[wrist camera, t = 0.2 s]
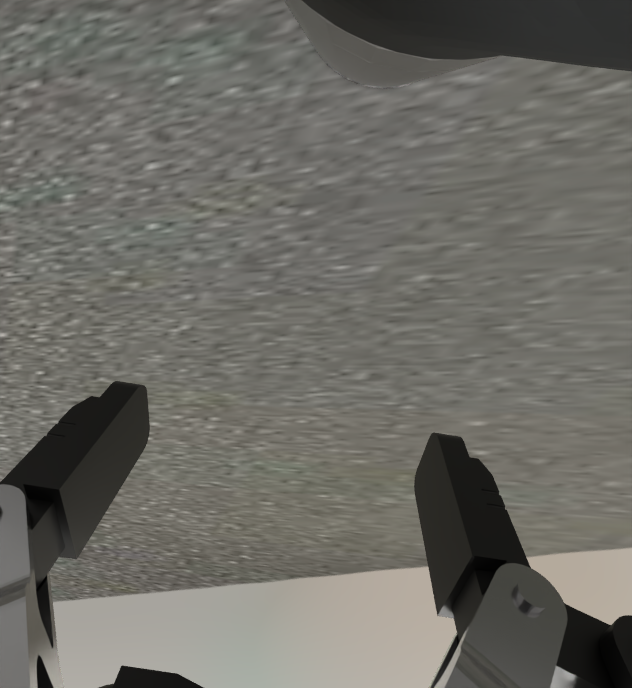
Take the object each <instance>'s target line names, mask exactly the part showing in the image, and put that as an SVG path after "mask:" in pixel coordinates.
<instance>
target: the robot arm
mask: <svg viewBox="0 0 632 688" xmlns="http://www.w3.org/2000/svg"><path fill="white" fill-rule="evenodd" d="M284 1H285V3H286V4H287V6H288V7H289V9H290V11H291V12H292V14H293V15H294V17H295V18H296V20H297V22H298V23H299V25H300V26H301V28H302V29H303V31H304V33H305V34H306V36H307V37H308V39H309V40H310V42H311V43H312V45H313V46H314V48H315V49H316V51H317V53H318V54H319V56H320V57H321V58H322V59H323V60H324V61H325V62H326V63H327V65H328V66H329V67H330V68H331V69H333V70H334V71H335V72H336V73H338V74H339V75H341V76H342V77H344V78H346V79H347V80H349V81H352V82H354V83H356V84H359V85H363V86H366V87H372V88H396V87H401V86H405V85H409V84H412V83H413V82H417V81H420V80H423V79H427V78H430V77H434V76H437V75H440V74H444V73H447V72H450V71H454V70H457V69H460V68H464V67H467V66H471V65H474V64H477V63H481V62H484V61H487V60H491V59H494V58H497V57H500V56H511V57H520V58H528V59H536V60H544V61H551V62H559V63H567V64H574V65H582V66H590V67H598V68H607V69H616V70H625V71H632V0H284ZM149 430H150V425H149V412H148V399H147V390H146V387H145V386H144V385H139V384H132V383H126V382H120V381H115V382H113V383H112V384H111V385H110V386H109V387H108V388H107V390H106V391H105V392H104V393H103V394H102V395H101V396H100V398H99V397H93V396H91V397H89V398H87V399H86V400H84V401H82V402H80V403H79V404H77V405H75V406H73V407H72V408H71V409H70V410H69V411H68V412H67V413H66V414H65V415H64V416H63V417H62V418H61V419H60V420H59V423H58V424H56V425H55V426H54V427H53V428H52V429H51V430H50V431H49V432H48V433H47V436H44V437H43V438H42V439H41V440H40V441H39V442H38V443H37V445H36V446H35V447H34V448H33V449H32V450H31V451H30V452H29V453H28V454H27V455H26V456H25V457H24V458H23V459H22V460H21V461H20V462H19V463H18V464H17V466H16V467H15V468H14V469H13V470H12V471H11V472H10V473H9V474H8V475H7V476H6V477H5V478H4V479H3V480H2V481H1V482H0V688H64V684H63V678H62V673H61V669H60V664H59V658H58V650H57V640H56V631H55V621H54V611H53V601H52V591H51V582H50V575H49V571H50V569H51V568H52V566H53V565H54V563H55V562H56V560H57V559H58V557H66V558H72V559H77V558H78V556H79V555H80V553H81V552H82V550H83V548H84V547H85V545H86V543H87V542H88V540H89V538H90V537H91V535H92V534H93V532H94V530H95V529H96V527H97V525H98V524H99V522H100V520H101V519H102V517H103V516H104V514H105V512H106V511H107V509H108V507H109V506H110V504H111V502H112V501H113V499H114V498H115V496H116V494H117V493H118V491H119V489H120V488H121V486H122V485H123V483H124V481H125V480H126V478H127V476H128V475H129V473H130V471H131V470H132V468H133V467H134V465H135V463H136V462H137V460H138V458H139V457H140V455H141V453H142V452H143V450H144V448H145V446H146V444H147V441H148V437H149ZM414 488H415V497H416V502H417V507H418V513H419V518H420V524H421V529H422V534H423V540H424V545H425V551H426V556H427V561H428V567H429V572H430V578H431V582H432V588H433V594H434V599H435V604H436V610H437V615H438V616H442V617H449V618H454V621H455V625H456V630H457V633H456V635H455V636H454V638H453V640H452V642H451V644H450V646H449V648H448V650H447V652H446V654H445V656H444V658H443V660H442V662H441V664H440V666H439V668H438V670H437V672H436V674H435V676H434V678H433V680H432V682H431V684H430V686H429V688H632V616H629V615H628V616H622V617H619V618H618V619H617V620H616V621H615V622H614V623H613V624H612V625H608V624H606V623H604V622H602V621H600V620H598V619H596V618H593V617H591V616H589V615H587V614H585V613H583V612H581V611H578V610H576V609H574V608H572V607H570V606H568V605H566V604H565V603H564V602H563V600H562V598H561V596H560V595H559V593H558V592H557V590H556V589H555V588H554V587H553V586H552V584H551V583H550V582H549V581H548V580H547V579H546V578H544V577H543V576H542V575H541V574H539V573H538V572H536V571H535V570H533V569H531V567H530V566H529V563H528V560H527V558H526V556H525V553H524V551H523V548H522V546H521V544H520V541H519V539H518V536H517V534H516V531H515V529H514V527H513V524H512V522H511V519H510V517H509V514H508V512H507V510H505V505H504V502H503V500H502V498H501V495H499V490H498V488H497V485H496V483H495V481H494V478H493V476H492V474H491V473H490V472H489V471H488V469H487V468H486V467H485V466H484V465H483V463H482V462H481V461H480V460H479V459H477V458H470V457H469V454H468V452H467V449H466V446H465V444H464V441H463V439H462V438H461V437H458V436H452V435H446V434H439V433H432V434H431V436H430V438H429V440H428V443H427V445H426V448H425V450H424V453H423V456H422V458H421V461H420V463H419V466H418V468H417V471H416V475H415V485H414ZM99 688H203V687H201V686H200V685H198V684H196V683H194V682H192V681H190V680H188V679H186V678H184V677H182V676H181V675H179V674H175V673H169V672H162V671H155V670H148V669H141V668H135V667H128V666H121V668H120V671H119V673H118V676H117V678H116V680H115V683H114V684H110V685H105V686H102V687H99Z"/></svg>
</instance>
